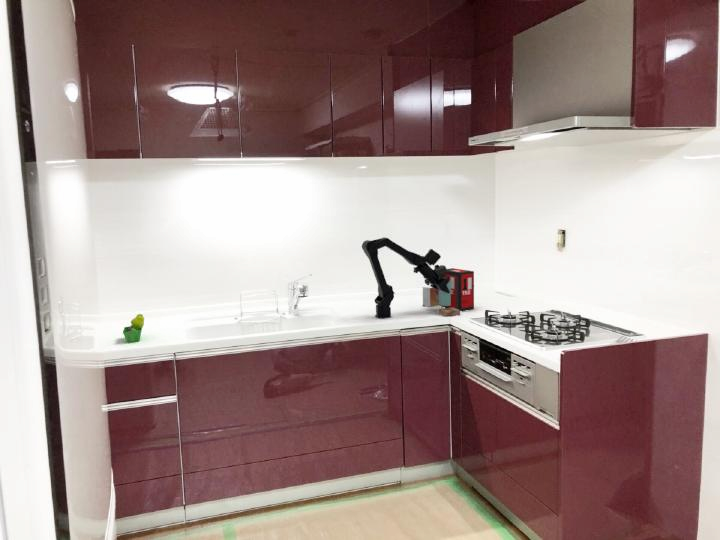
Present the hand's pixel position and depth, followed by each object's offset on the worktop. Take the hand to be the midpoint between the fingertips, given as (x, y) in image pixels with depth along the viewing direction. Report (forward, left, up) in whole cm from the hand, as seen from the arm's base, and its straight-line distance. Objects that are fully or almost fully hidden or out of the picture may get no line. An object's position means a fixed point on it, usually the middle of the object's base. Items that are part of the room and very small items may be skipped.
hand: (447, 292), depth 302 cm
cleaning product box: (+8, +4, -10) cm, 13 cm away
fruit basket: (-151, +3, -10) cm, 152 cm away
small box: (-1, +16, -10) cm, 19 cm away
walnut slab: (-3, -9, -10) cm, 14 cm away
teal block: (-1, 0, -7) cm, 7 cm away
